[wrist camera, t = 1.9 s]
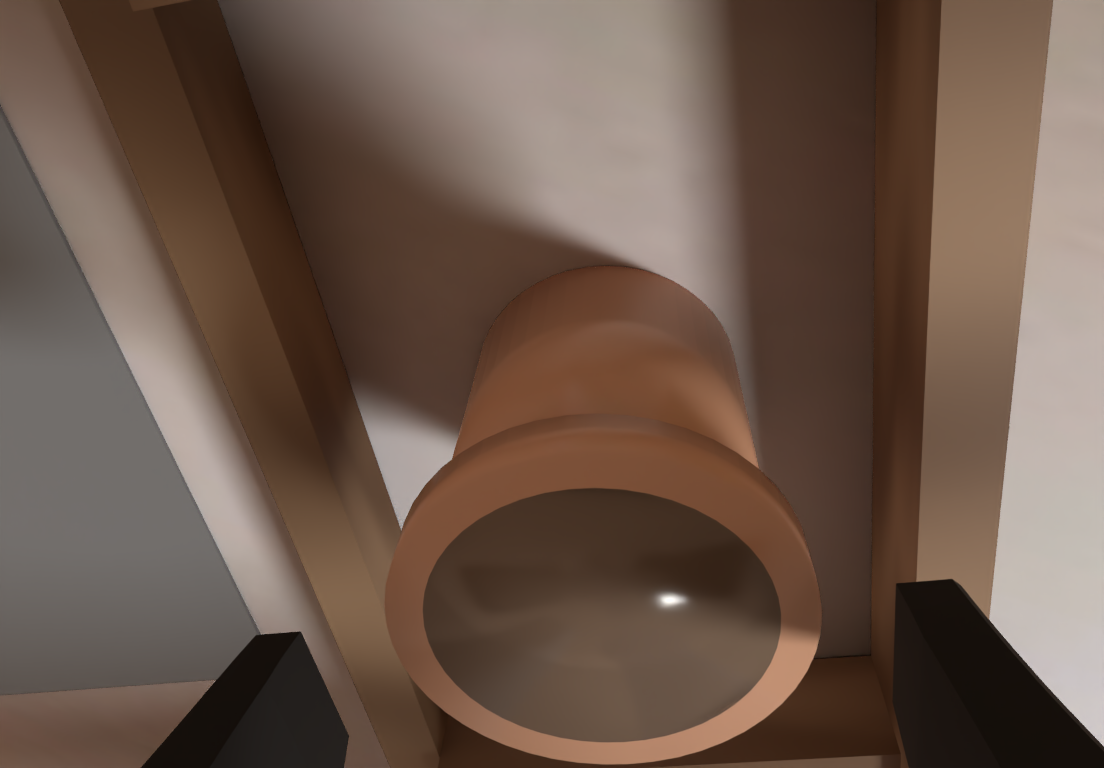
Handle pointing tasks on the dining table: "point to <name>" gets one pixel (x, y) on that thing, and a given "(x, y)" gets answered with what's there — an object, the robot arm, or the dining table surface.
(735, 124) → the dining table surface
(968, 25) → the cold frame
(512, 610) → the terracotta pot
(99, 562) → the potting mat
